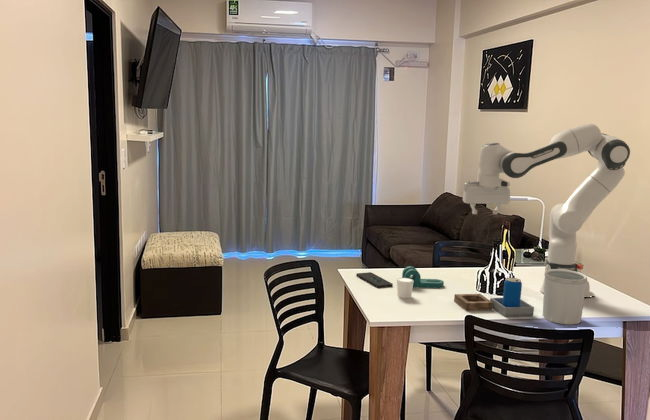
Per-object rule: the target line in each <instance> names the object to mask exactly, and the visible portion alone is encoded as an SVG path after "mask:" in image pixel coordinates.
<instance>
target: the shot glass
mask: <svg viewBox="0 0 650 420" xmlns="http://www.w3.org/2000/svg"><path fill="white" fill-rule="evenodd" d="M413 282H414V280H412V279H410V278H402V277H398V278H396V290H397V293H396V294H397V295H396V296H397V297H399V298H401V299H402V298H403V299H410V298H411V297H412V293H413V288H414V287H413Z"/></svg>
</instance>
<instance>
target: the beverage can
mask: <svg viewBox="0 0 650 420" xmlns="http://www.w3.org/2000/svg"><path fill="white" fill-rule="evenodd" d="M522 286H523V283H522V280H521V279H520V278H517V277H506V278H505V280H504V284H503V294H502V298H503V303H502V305H503V306H505V307H520V299H521V300H522Z"/></svg>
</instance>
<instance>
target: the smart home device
mask: <svg viewBox="0 0 650 420" xmlns="http://www.w3.org/2000/svg"><path fill="white" fill-rule="evenodd" d="M356 277H357V278H359V279H361V280H362V281H363V282H366V283H367V284H369V285H370V286H372V287H375V288H377V289H384V288H390V287H393V283H392V282H390V281H388V280H386V279H385V278H382V277H381V276H379V275H376V273H374V272H369V271H368V272H359V273H356Z"/></svg>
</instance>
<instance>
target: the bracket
mask: <svg viewBox="0 0 650 420" xmlns="http://www.w3.org/2000/svg"><path fill="white" fill-rule="evenodd" d="M421 277H422V276H421V274H420V272H419V271H418V270H417V268H415V266H411V265H410V266H406V267H404V269H403V270H402V274H401V278H410V279H412V280H414V282H413V288H427V289H429V288H430V289H432V288H433V289H441V288H444V285H445V281H444V280H442V279H438V278H421Z"/></svg>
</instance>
